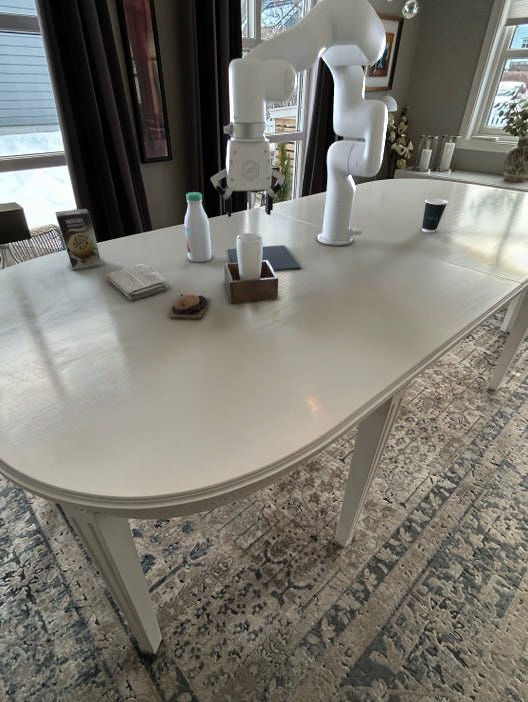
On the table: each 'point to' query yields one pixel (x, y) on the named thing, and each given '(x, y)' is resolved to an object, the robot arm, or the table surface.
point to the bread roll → (189, 306)
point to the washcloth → (137, 281)
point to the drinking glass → (249, 255)
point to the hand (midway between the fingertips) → (248, 214)
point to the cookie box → (79, 238)
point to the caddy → (251, 284)
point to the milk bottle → (197, 229)
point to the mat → (273, 257)
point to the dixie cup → (433, 214)
